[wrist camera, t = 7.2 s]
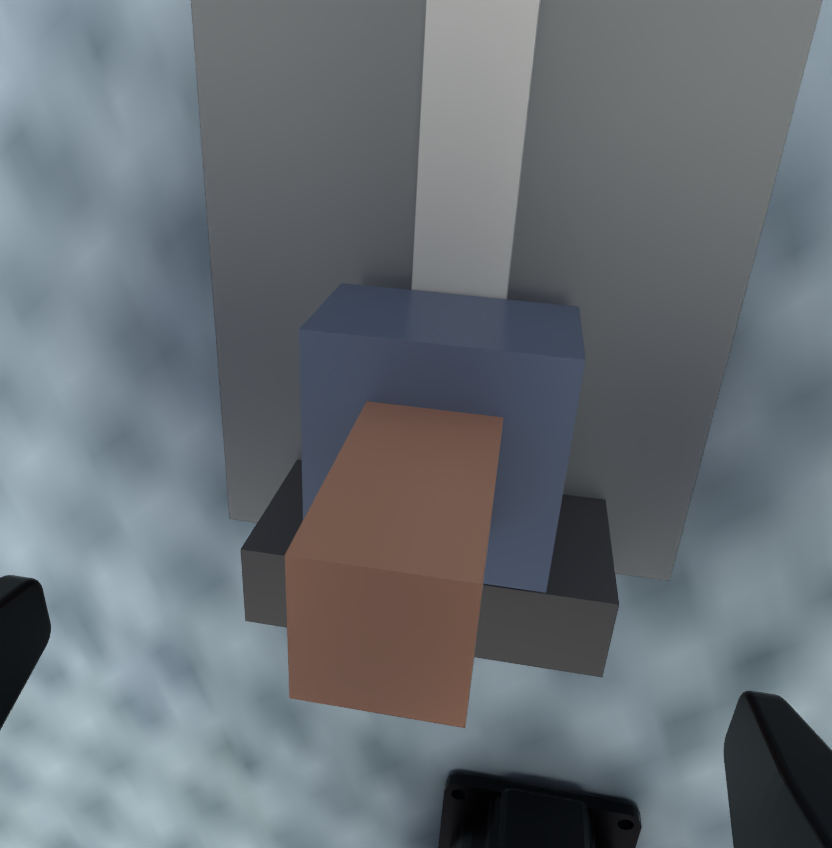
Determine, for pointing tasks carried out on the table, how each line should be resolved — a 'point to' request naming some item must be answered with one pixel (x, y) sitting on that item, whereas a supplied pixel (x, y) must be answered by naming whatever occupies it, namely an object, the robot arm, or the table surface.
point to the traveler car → (422, 487)
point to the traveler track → (498, 238)
